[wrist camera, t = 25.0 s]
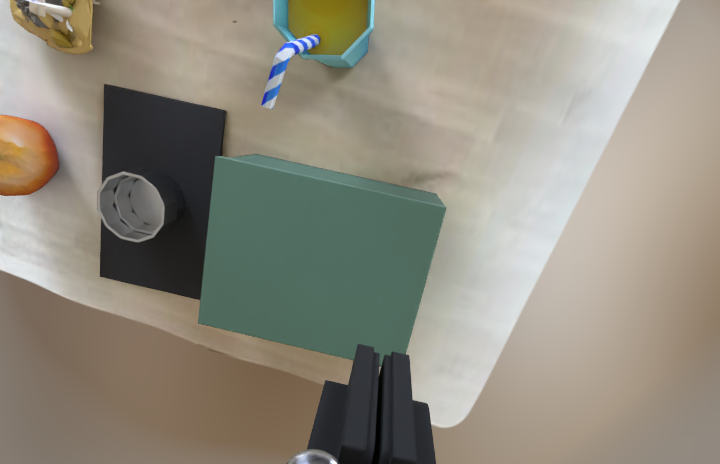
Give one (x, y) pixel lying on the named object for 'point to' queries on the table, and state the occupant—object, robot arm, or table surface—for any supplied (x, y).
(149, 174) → the bowl
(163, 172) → the mat
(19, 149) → the fruit
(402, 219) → the lid
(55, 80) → the table surface
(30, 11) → the cake
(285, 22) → the cup
